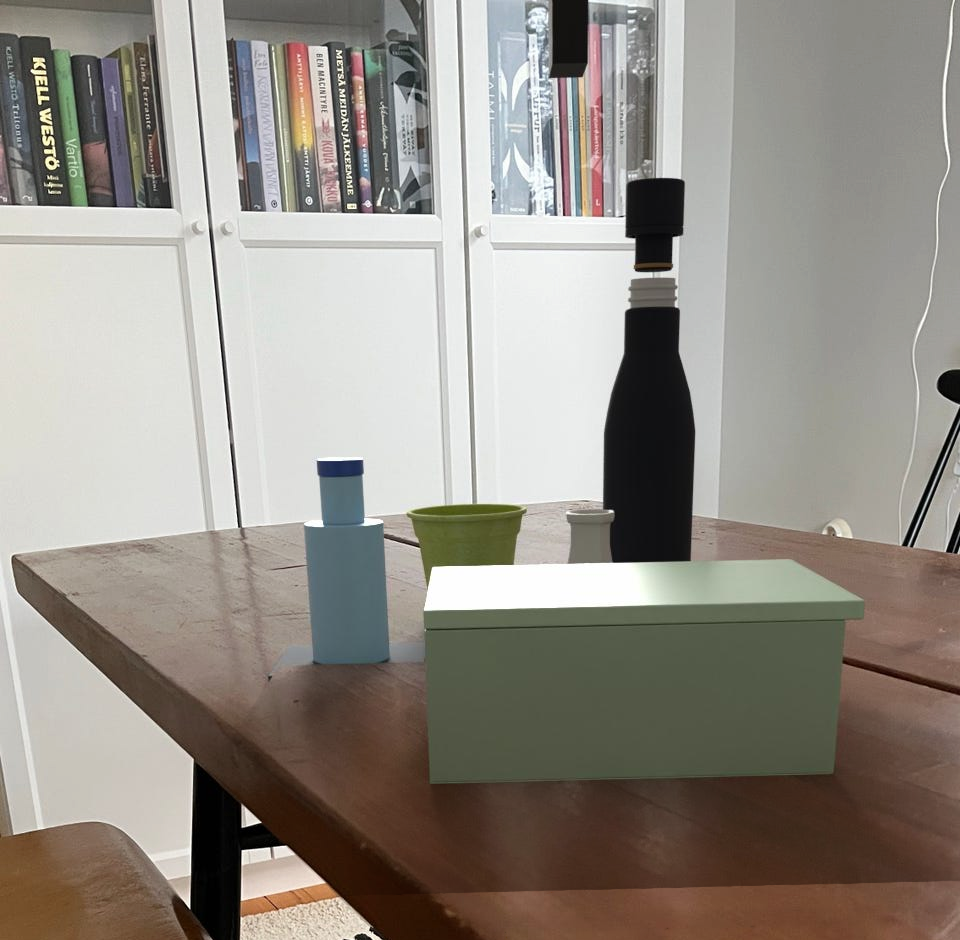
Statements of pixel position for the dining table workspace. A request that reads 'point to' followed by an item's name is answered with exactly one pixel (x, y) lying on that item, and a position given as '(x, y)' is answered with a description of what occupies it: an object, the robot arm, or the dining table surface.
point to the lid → (633, 594)
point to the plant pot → (467, 534)
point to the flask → (590, 536)
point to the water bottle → (346, 571)
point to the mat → (397, 655)
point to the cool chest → (633, 701)
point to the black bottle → (651, 395)
